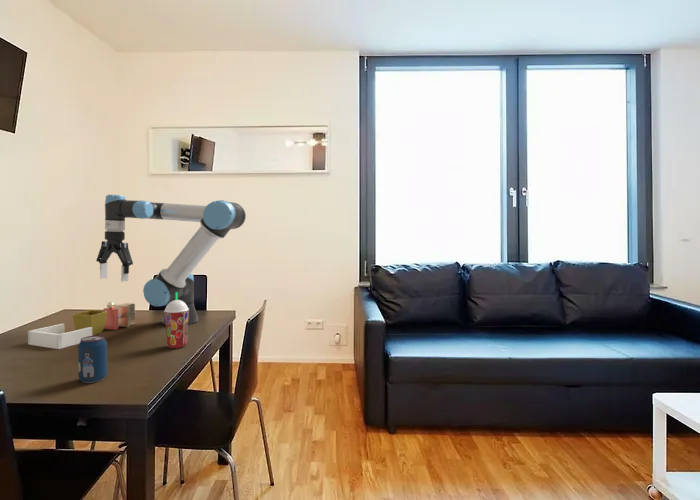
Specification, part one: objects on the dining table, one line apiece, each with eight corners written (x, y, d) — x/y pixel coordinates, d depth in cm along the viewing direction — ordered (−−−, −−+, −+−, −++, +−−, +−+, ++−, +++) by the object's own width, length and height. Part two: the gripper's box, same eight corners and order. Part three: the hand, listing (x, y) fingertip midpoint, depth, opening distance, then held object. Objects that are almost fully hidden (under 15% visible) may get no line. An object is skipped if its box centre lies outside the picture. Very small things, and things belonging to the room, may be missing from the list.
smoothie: (194, 344, 154) (193, 291, 153) (177, 350, 146) (177, 294, 145) (176, 342, 157) (175, 290, 156) (159, 348, 149) (158, 293, 148)
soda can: (104, 373, 123) (103, 333, 122) (110, 379, 118) (109, 338, 117) (76, 378, 118) (75, 337, 117) (81, 385, 113) (80, 342, 112)
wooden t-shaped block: (142, 323, 185) (141, 298, 185) (116, 330, 173) (115, 303, 172) (126, 322, 188) (126, 297, 188) (100, 328, 176) (99, 301, 175)
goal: (92, 340, 159) (92, 327, 158) (58, 349, 146) (58, 335, 146) (62, 336, 164) (62, 323, 164) (27, 344, 152) (27, 330, 151)
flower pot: (90, 338, 161) (90, 315, 161) (71, 336, 163) (71, 314, 163) (108, 332, 170) (107, 311, 169) (90, 331, 172) (89, 310, 171)
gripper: (87, 229, 180) (87, 277, 181) (126, 232, 169) (125, 283, 171) (104, 229, 187) (103, 276, 188) (142, 232, 176) (141, 281, 177)
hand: (114, 279), depth 179 cm, fingers open, 13 cm apart
